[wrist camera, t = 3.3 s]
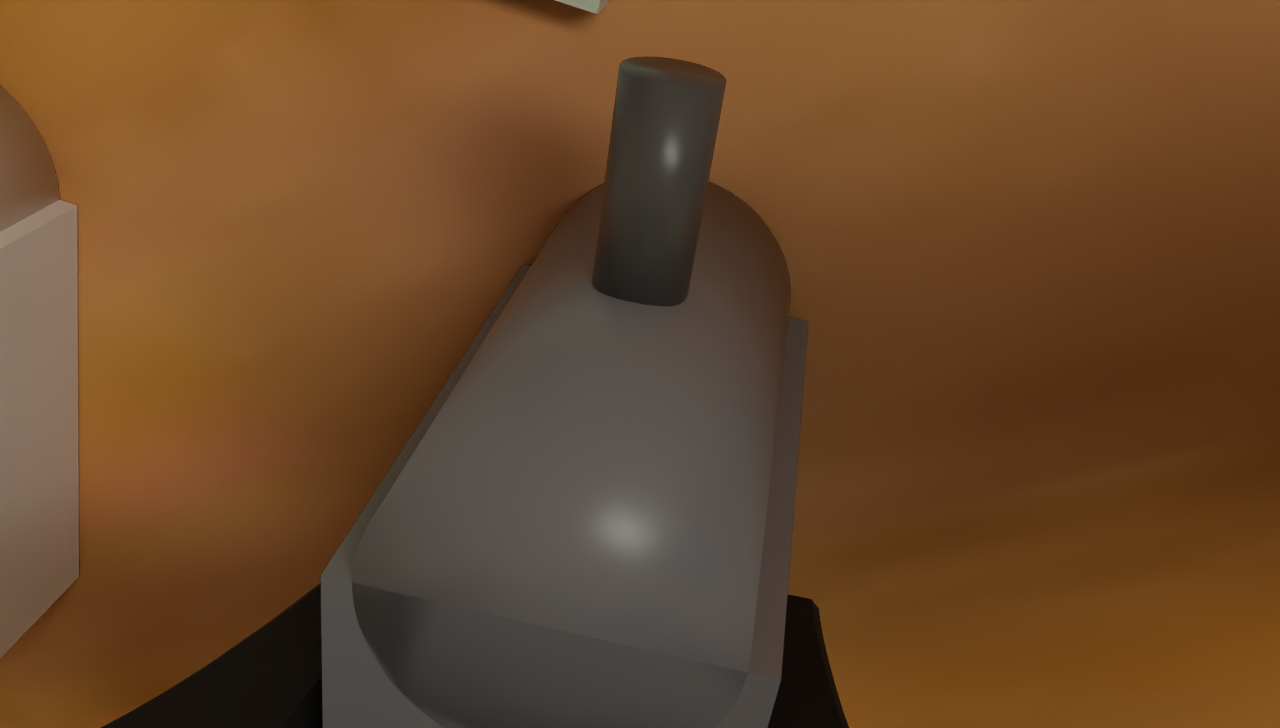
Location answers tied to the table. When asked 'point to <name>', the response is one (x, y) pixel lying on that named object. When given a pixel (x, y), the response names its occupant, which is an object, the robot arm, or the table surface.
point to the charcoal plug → (595, 470)
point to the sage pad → (586, 4)
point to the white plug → (36, 379)
